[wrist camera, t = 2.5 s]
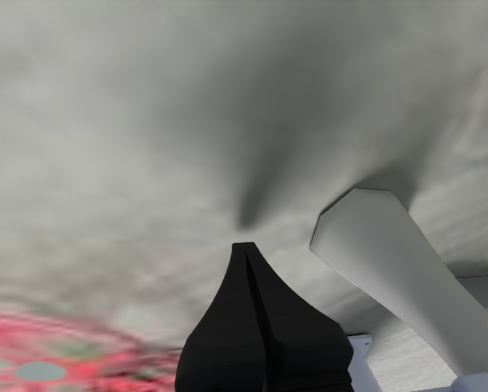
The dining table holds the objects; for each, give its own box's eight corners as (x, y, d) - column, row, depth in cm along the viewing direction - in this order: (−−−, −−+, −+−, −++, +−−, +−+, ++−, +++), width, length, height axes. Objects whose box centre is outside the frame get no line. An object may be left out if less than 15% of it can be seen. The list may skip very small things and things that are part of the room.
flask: (423, 207, 15) (702, 361, 7) (361, 275, 18) (502, 453, 9) (349, 169, 13) (608, 317, 5) (292, 252, 16) (384, 451, 7)
